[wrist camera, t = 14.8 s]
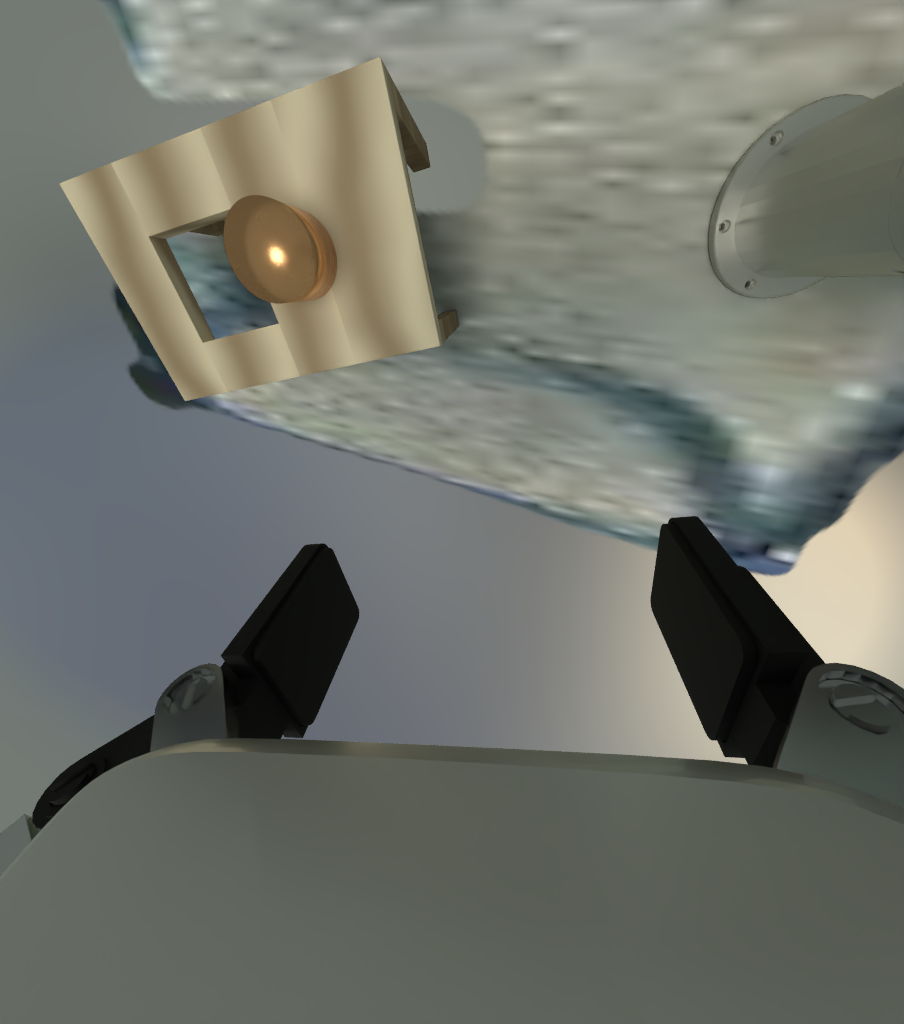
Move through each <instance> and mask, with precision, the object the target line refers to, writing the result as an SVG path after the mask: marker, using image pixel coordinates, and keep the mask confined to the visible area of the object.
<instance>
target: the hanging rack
mask: <svg viewBox="0 0 904 1024" xmlns="http://www.w3.org/2000/svg"><path fill="white" fill-rule="evenodd" d="M406 163H407V164H408V166H409V167H410V168H411V169H412V171H413V172H417V171H420V170H423V169H426V168H429V167H430V162H429V157H428V151H427V145H426V142H425V140H424V139H423V137H422V135H421V133H420V131H419V129H418V127H417V125H416V124H415V122H414V120H413V118H412V116H411V114H410V112H409V110H408V109H407V107H406V105H405V103H404V101H403V99H402V97H401V95H400V93H399V91H398V90H397V88H396V86H395V84H394V82H393V80H392V78H391V76H390V74H389V73H388V71H387V69H386V67H385V65H384V63H383V61H382V59H381V57H378V58H376V59H373V60H371V61H368V62H366V63H363V64H361V65H358V66H356V67H353V68H351V69H348V70H345V71H343V72H340V73H338V74H335V75H333V76H330V77H328V78H325V79H323V80H320V81H318V82H315V83H313V84H310V85H308V86H305V87H302V88H300V89H297V90H295V91H292V92H290V93H287V94H285V95H282V96H280V97H277V98H275V99H272V100H270V101H267V102H265V103H262V104H259V105H257V106H254V107H252V108H249V109H247V110H244V111H242V112H240V113H237V114H234V115H232V116H229V117H227V118H224V119H222V120H219V121H217V122H214V123H212V124H209V125H207V126H204V127H201V128H199V129H196V130H194V131H191V132H189V133H186V134H184V135H181V136H179V137H176V138H174V139H171V140H168V141H166V142H163V143H161V144H158V145H156V146H153V147H151V148H148V149H146V150H143V151H141V152H138V153H136V154H133V155H131V156H128V157H126V158H123V159H121V160H118V161H115V162H113V163H110V164H108V165H105V166H103V167H100V168H98V169H95V170H93V171H90V172H88V173H85V174H83V175H80V176H78V177H75V178H72V179H70V180H68V181H65V182H62V183H60V185H61V187H62V189H63V191H64V193H65V194H66V196H67V198H68V199H69V201H70V203H71V204H72V206H73V208H74V210H75V211H76V213H77V215H78V217H79V218H80V220H81V222H82V224H83V225H84V227H85V229H86V230H87V232H88V234H89V236H90V237H91V239H92V241H93V243H94V244H95V246H96V248H97V250H98V251H99V253H100V255H101V257H102V258H103V260H104V262H105V263H106V265H107V267H108V269H109V270H110V272H111V274H112V276H113V277H114V279H115V281H116V283H117V284H118V286H119V288H120V289H121V291H122V293H123V295H124V296H125V298H126V300H127V302H128V303H129V305H130V307H131V308H132V310H133V312H134V314H135V315H136V317H137V319H138V321H139V322H140V324H141V326H142V327H143V329H144V331H145V333H146V334H147V336H148V338H149V340H150V341H151V343H152V345H153V347H154V348H155V350H156V352H157V353H158V355H159V357H160V359H161V360H162V362H163V364H164V366H165V367H166V369H167V371H168V372H169V374H170V376H171V378H172V379H173V381H174V383H175V385H176V386H177V388H178V390H179V392H180V393H181V395H182V397H183V398H184V400H185V401H188V400H192V399H197V398H201V397H206V396H211V395H215V394H220V393H225V392H229V391H234V390H238V389H243V388H248V387H252V386H257V385H262V384H266V383H271V382H276V381H280V380H285V379H289V378H294V377H299V376H303V375H308V374H313V373H317V372H322V371H326V370H331V369H336V368H340V367H345V366H350V365H354V364H359V363H363V362H368V361H373V360H377V359H382V358H387V357H391V356H396V355H401V354H405V353H410V352H414V351H419V350H424V349H428V348H433V347H438V346H440V345H441V344H442V343H443V342H444V341H445V340H446V339H447V338H448V337H449V336H450V335H451V334H452V333H453V332H454V331H455V330H456V329H457V327H458V326H459V325H458V319H457V314H456V310H453V311H449V312H445V313H441V314H439V315H437V312H436V307H435V302H434V297H433V292H432V287H431V282H430V277H429V272H428V268H427V263H426V258H425V253H424V248H423V243H422V238H421V233H420V228H419V223H418V218H417V213H416V208H415V204H414V198H413V194H412V189H411V184H410V179H409V174H408V169H407V164H406ZM249 195H262V196H266V197H269V198H272V199H274V200H277V201H280V202H283V203H285V204H288V205H291V206H293V207H296V208H299V209H302V210H304V211H306V212H308V213H310V214H311V215H313V216H314V217H315V218H317V219H318V220H319V221H320V222H321V223H322V225H323V226H324V227H325V229H326V230H327V232H328V233H329V235H330V237H331V239H332V241H333V244H334V247H335V251H336V256H337V273H336V277H335V281H334V283H333V285H332V287H331V289H330V290H329V291H328V292H327V293H326V294H325V295H324V296H323V297H321V298H319V299H316V300H312V301H302V302H292V303H281V304H276V303H271V305H272V308H273V310H274V313H275V315H276V318H277V320H278V323H279V324H275V325H271V326H267V327H263V328H259V329H255V330H251V331H247V332H243V333H239V334H235V335H231V336H227V337H224V338H220V339H216V340H215V338H214V336H213V334H212V332H211V330H210V328H209V326H208V324H207V322H206V320H205V318H204V316H203V313H202V311H201V309H200V307H199V305H198V303H197V301H196V299H195V297H194V295H193V293H192V291H191V289H190V287H189V285H188V283H187V281H186V279H185V277H184V275H183V273H182V271H181V269H180V267H179V265H178V263H177V261H176V259H175V257H174V255H173V253H172V251H171V249H170V247H169V245H168V243H167V241H166V239H167V238H170V237H173V236H176V235H179V234H182V233H185V232H188V231H189V232H195V233H201V234H207V235H213V236H217V235H220V234H223V233H224V224H225V222H224V219H226V216H227V214H228V212H229V210H230V208H231V207H232V206H233V205H234V204H235V202H237V201H238V200H239V199H241V198H243V197H245V196H249Z"/></svg>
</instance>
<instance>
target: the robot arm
mask: <svg viewBox="0 0 904 1024" xmlns="http://www.w3.org/2000/svg"><path fill="white" fill-rule="evenodd" d="M771 138H772V140H773V142H772V144H771V145H770V139H771ZM720 224H722V229H721V231H719V226H720ZM709 254H710V259H711V264H712V266H713V268H714V271H715V273H716V275H717V277H718V278H719V279H720V280H721V281H722V283H723V284H724V285H725V286H726V287H728V288H729V289H731V290H732V291H734V292H735V293H738V294H741V295H744V296H747V297H754V298H776V297H780V296H785V295H790V294H792V293H795V292H798V291H800V290H803V289H805V288H807V287H809V286H811V285H813V284H815V283H816V282H818V281H820V280H822V279H823V278H825V277H850V276H904V84H902V85H900V86H898V87H896V88H894V89H892V90H890V91H888V92H886V93H884V94H882V95H880V96H878V97H876V98H874V99H870V98H868V97H865V96H863V95H850V94H842V95H837V96H831V97H826V98H823V99H820V100H818V101H815V102H813V103H810V104H808V105H805V106H804V107H802V108H800V109H798V110H797V111H795V112H793V113H791V114H789V115H788V116H786V117H785V118H784V119H782V120H781V121H779V122H778V123H776V124H775V125H774V126H772V127H771V128H769V129H768V130H767V131H766V132H765V133H764V134H763V135H762V136H761V137H760V138H759V139H758V140H757V141H756V142H754V143H753V144H752V146H751V147H750V148H749V149H748V150H747V152H746V153H745V154H744V155H743V156H742V158H741V159H740V160H739V161H738V163H737V164H736V166H735V167H734V169H733V171H732V172H731V174H730V175H729V177H728V178H727V180H726V182H725V184H724V186H723V188H722V190H721V192H720V194H719V196H718V199H717V202H716V205H715V208H714V211H713V214H712V217H711V223H710V229H709ZM746 282H747V283H748V284H747V286H746V287H745V284H746ZM651 608H652V611H653V614H654V616H655V618H656V621H657V623H658V625H659V628H660V630H661V632H662V634H663V637H664V639H665V641H666V643H667V646H668V648H669V650H670V653H671V655H672V657H673V659H674V662H675V664H676V666H677V669H678V671H679V673H680V675H681V678H682V680H683V682H684V685H685V687H686V689H687V691H688V694H689V696H690V698H691V700H692V703H693V705H694V707H695V710H696V712H697V714H698V716H699V719H700V721H701V723H702V725H703V728H704V730H705V732H706V734H707V736H708V737H709V739H711V740H717V741H718V743H719V745H720V747H721V750H722V752H723V754H724V756H725V757H737V758H738V757H739V758H745V759H746V761H747V763H748V765H747V764H737V763H729V762H719V761H709V760H695V759H679V758H665V757H651V756H636V755H620V754H619V755H618V754H600V753H598V754H597V753H581V752H580V753H579V752H561V751H542V750H522V749H502V748H481V747H480V748H479V747H459V746H438V745H416V744H393V743H370V742H346V741H345V742H344V741H321V740H320V741H319V740H296V739H295V740H294V739H281V737H282V735H284V737H295V738H303V736H304V734H305V732H306V729H307V727H308V725H311V724H312V723H313V722H314V720H315V718H316V716H317V714H318V712H319V709H320V707H321V704H322V702H323V700H324V698H325V695H326V693H327V691H328V688H329V686H330V684H331V682H332V679H333V677H334V675H335V672H336V670H337V668H338V665H339V663H340V661H341V658H342V656H343V654H344V651H345V649H346V647H347V645H348V642H349V640H350V638H351V636H352V633H353V631H354V629H355V626H356V624H357V622H358V619H359V609H358V606H357V604H356V602H355V599H354V597H353V595H352V592H351V590H350V588H349V586H348V584H347V581H346V579H345V577H344V574H343V572H342V570H341V567H340V565H339V563H338V561H337V558H336V556H335V554H334V552H333V550H332V549H331V548H328V547H327V545H325V544H310V545H305V546H304V547H303V548H302V549H301V550H300V552H299V553H298V554H297V556H296V557H295V558H294V560H293V561H292V562H291V564H290V565H289V566H288V568H287V569H286V570H285V572H284V573H283V574H282V575H281V577H280V578H279V580H278V581H277V582H276V583H275V585H274V586H273V588H272V589H271V590H270V591H269V593H268V594H267V595H266V597H265V598H264V599H263V601H262V602H261V603H260V604H259V606H258V607H257V609H256V610H255V611H254V612H253V614H252V615H251V616H250V618H249V619H248V620H247V622H246V623H245V624H244V626H243V627H242V628H241V630H240V631H239V632H238V633H237V635H236V636H235V637H234V639H233V640H232V641H231V643H230V644H229V645H228V647H227V648H226V649H225V651H224V652H223V654H222V655H221V656H222V658H223V659H224V661H225V662H224V663H223V665H222V666H221V667H219V666H218V665H216V664H210V663H208V664H203V665H199V666H197V667H195V668H192V669H190V670H189V671H187V672H185V673H184V674H182V675H181V676H179V677H178V678H177V679H176V680H174V681H173V682H172V683H171V684H170V685H169V686H168V687H167V689H165V691H164V692H163V693H162V695H161V696H160V698H159V700H158V702H157V705H156V708H155V715H153V716H151V717H150V718H148V719H147V720H145V721H143V722H142V723H140V724H138V725H136V726H135V727H133V728H132V729H130V730H128V731H127V732H125V733H123V734H122V735H120V736H118V737H117V738H115V739H113V740H112V741H110V742H108V743H107V744H105V745H103V746H102V747H100V748H98V749H97V750H95V751H93V752H92V753H90V754H88V755H87V756H85V757H83V758H82V759H80V760H79V761H77V762H76V763H74V764H73V765H71V766H70V767H69V768H67V769H66V770H65V771H64V772H63V773H61V774H60V775H59V776H58V777H57V778H56V779H55V780H54V781H53V783H52V784H51V785H50V786H49V787H48V788H47V789H46V790H45V792H44V793H43V795H42V796H41V798H40V799H39V801H38V802H37V805H36V807H35V809H34V811H33V816H32V817H30V816H28V815H26V814H24V815H23V816H21V817H20V818H19V819H18V820H16V821H15V822H14V823H13V824H11V825H10V826H9V827H8V828H6V829H5V830H4V831H3V832H1V833H0V1024H904V689H903V688H901V687H900V686H898V685H897V684H895V683H894V682H892V681H891V680H889V679H886V678H885V677H882V676H880V675H878V674H876V673H874V672H872V671H869V670H866V669H863V668H859V667H856V666H853V665H847V664H839V663H829V664H825V663H824V661H823V660H822V659H821V658H820V657H819V655H818V654H817V653H816V652H815V651H814V649H813V648H812V647H811V646H810V644H809V643H808V642H807V641H806V640H805V638H804V637H803V636H802V635H801V634H800V632H799V631H798V630H797V629H796V628H795V626H794V625H793V624H792V623H791V622H790V621H789V619H788V618H787V617H786V615H785V614H784V613H783V612H782V611H781V609H780V608H779V607H778V606H777V605H776V604H775V602H774V601H773V600H772V599H771V597H770V596H769V595H768V594H767V593H766V591H765V590H764V589H763V588H762V586H761V585H760V584H759V583H758V582H757V581H756V579H755V578H754V577H753V576H752V574H751V573H750V572H749V571H748V570H747V569H746V568H744V567H741V566H737V565H736V563H735V562H734V561H733V560H732V558H731V557H730V556H729V555H728V553H727V552H726V551H725V550H724V548H723V547H722V546H721V545H720V543H719V542H718V541H717V540H716V538H715V537H714V536H713V535H712V533H711V532H710V531H709V530H708V529H707V527H706V526H705V525H704V524H703V522H702V521H701V520H700V519H699V518H698V517H696V516H691V517H678V518H671V519H670V520H669V522H668V524H663V525H662V526H661V530H660V537H659V544H658V551H657V558H656V565H655V572H654V579H653V586H652V593H651Z"/></svg>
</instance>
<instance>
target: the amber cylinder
mask: <svg viewBox="0 0 904 1024" xmlns="http://www.w3.org/2000/svg"><path fill="white" fill-rule="evenodd" d="M223 237H224V246H225V251H226V255H227V258H228V261H229V263H230V265H231V267H232V270H233V271H234V273H235V275H236V276H237V278H238V279H239V280H240V282H241V283H242V284H243V285H244V286H245V288H247V289H248V290H249V291H250V292H251V293H252V294H254V295H255V296H257V297H258V298H260V299H262V300H264V301H267V302H270V303H276V304H281V303H292V302H302V301H312V300H316V299H319V298H321V297H323V296H324V295H325V294H326V293H327V292H328V291H329V290H330V289H331V287H332V285H333V283H334V281H335V277H336V273H337V256H336V251H335V247H334V244H333V241H332V239H331V237H330V235H329V233H328V232H327V230H326V229H325V227H324V226H323V225H322V223H321V222H320V221H319V220H318V219H317V218H315V217H314V216H313V215H311V214H310V213H308V212H306V211H304V210H302V209H299V208H296V207H293V206H291V205H288V204H285V203H283V202H280V201H277V200H274V199H272V198H269V197H266V196H262V195H249V196H245V197H243V198H241V199H239V200H238V201H237V202H235V204H234V205H233V206H232V207H231V208H230V210H229V212H228V214H227V216H226V220H225V224H224V234H223Z"/></svg>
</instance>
